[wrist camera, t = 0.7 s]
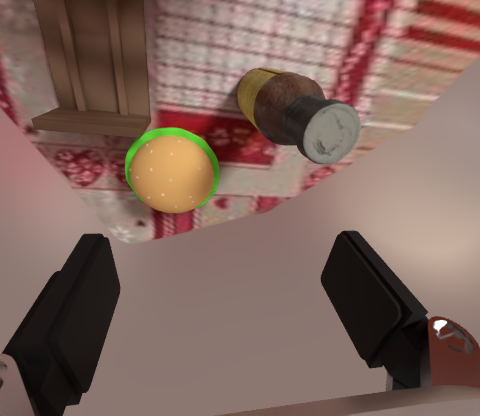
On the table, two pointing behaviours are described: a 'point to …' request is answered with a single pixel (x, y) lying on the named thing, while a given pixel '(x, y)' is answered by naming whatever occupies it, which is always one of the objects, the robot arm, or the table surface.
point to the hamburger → (172, 170)
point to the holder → (96, 66)
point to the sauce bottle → (298, 114)
